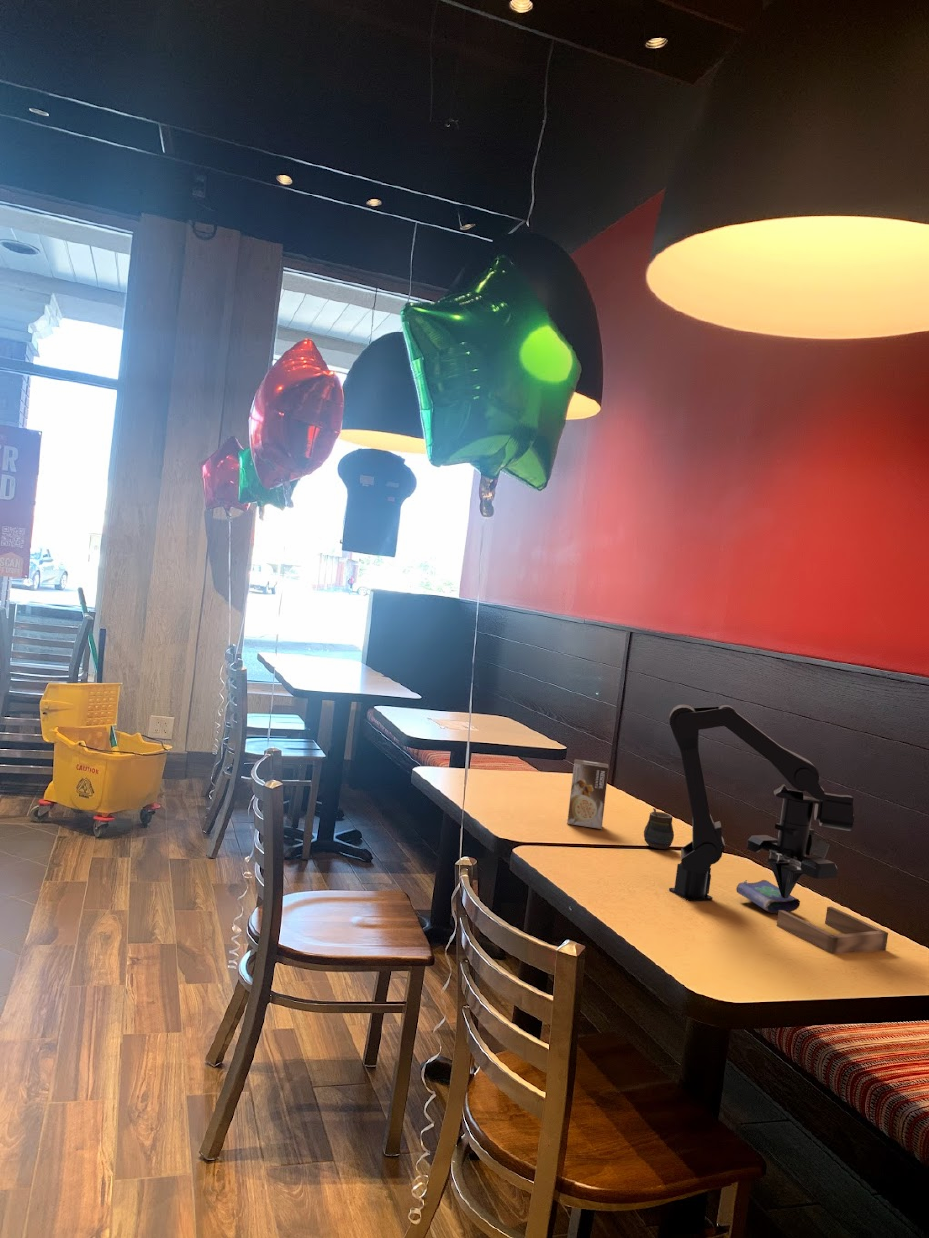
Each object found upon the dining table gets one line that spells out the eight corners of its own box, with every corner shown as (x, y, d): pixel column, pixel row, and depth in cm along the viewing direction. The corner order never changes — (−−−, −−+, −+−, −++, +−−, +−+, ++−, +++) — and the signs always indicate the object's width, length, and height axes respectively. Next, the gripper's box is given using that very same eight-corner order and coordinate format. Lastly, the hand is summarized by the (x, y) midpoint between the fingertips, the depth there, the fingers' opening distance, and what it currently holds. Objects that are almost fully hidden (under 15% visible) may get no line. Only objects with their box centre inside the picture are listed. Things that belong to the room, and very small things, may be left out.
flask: (769, 901, 182) (730, 878, 191) (766, 915, 182) (727, 891, 191) (801, 897, 186) (762, 875, 195) (798, 911, 187) (759, 888, 196)
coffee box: (602, 823, 242) (609, 763, 241) (601, 829, 235) (609, 767, 235) (567, 818, 243) (575, 758, 242) (566, 823, 237) (573, 762, 236)
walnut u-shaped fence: (831, 957, 165) (833, 938, 165) (776, 928, 177) (778, 910, 176) (885, 951, 171) (888, 932, 171) (829, 923, 183) (831, 906, 183)
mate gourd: (676, 847, 227) (681, 807, 227) (665, 853, 221) (671, 812, 220) (649, 840, 231) (654, 801, 230) (637, 845, 224) (643, 805, 224)
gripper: (861, 835, 179) (850, 912, 180) (788, 808, 196) (778, 879, 197) (821, 836, 174) (810, 916, 175) (750, 808, 191) (740, 882, 192)
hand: (784, 897), depth 185 cm, fingers closed
